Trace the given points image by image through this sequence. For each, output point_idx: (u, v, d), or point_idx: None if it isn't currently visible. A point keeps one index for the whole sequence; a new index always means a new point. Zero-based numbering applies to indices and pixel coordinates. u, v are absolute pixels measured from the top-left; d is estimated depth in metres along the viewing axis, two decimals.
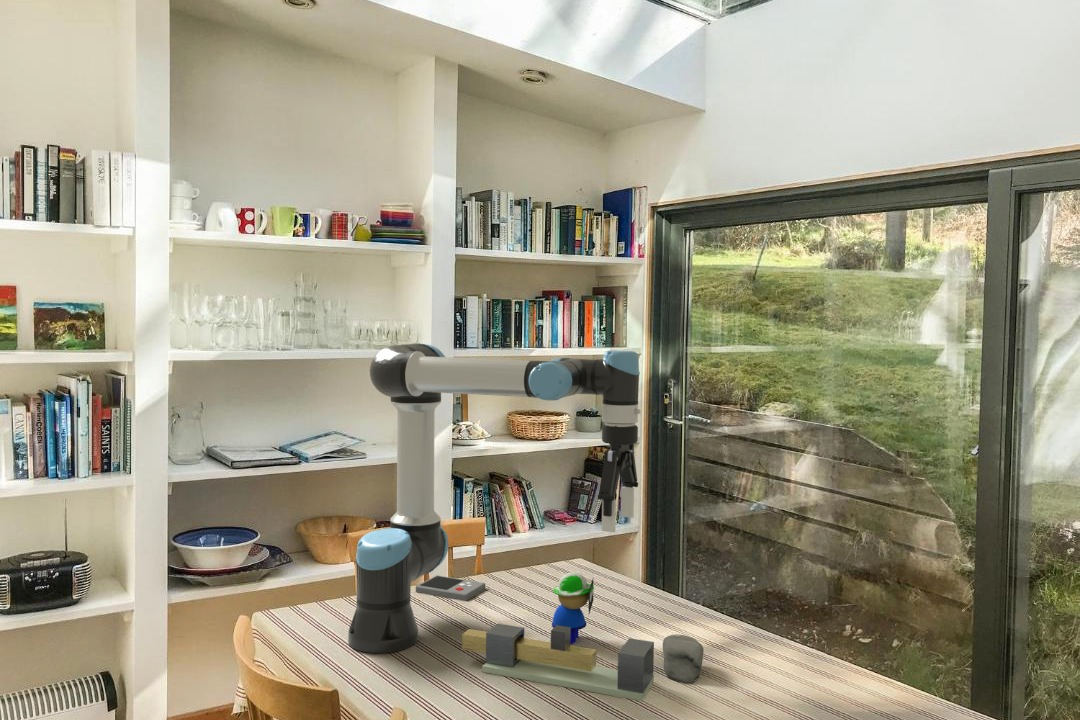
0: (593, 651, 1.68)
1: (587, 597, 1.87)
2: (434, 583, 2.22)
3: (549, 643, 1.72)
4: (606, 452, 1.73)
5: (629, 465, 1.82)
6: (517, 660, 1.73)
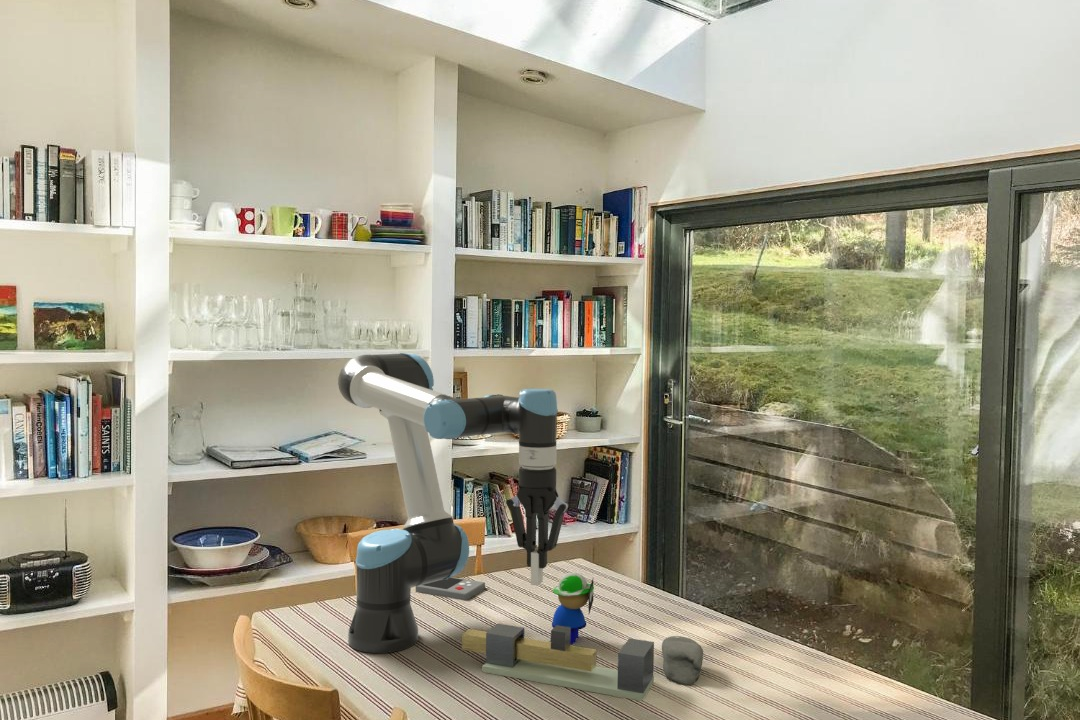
0: (593, 651, 1.68)
1: (587, 597, 1.87)
2: (434, 582, 2.23)
3: (549, 643, 1.72)
4: None
5: None
6: (517, 660, 1.73)
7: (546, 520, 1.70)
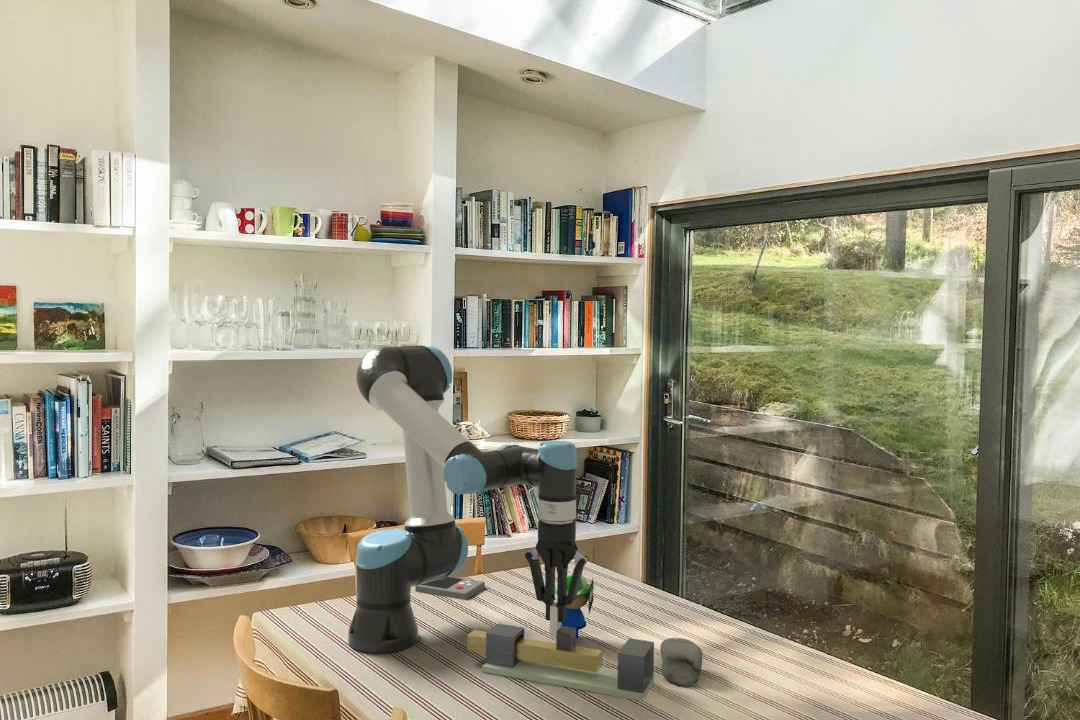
0: (599, 652, 1.68)
1: (587, 597, 1.87)
2: (433, 581, 2.23)
3: (554, 644, 1.71)
4: None
5: None
6: (517, 660, 1.73)
7: (565, 574, 1.69)
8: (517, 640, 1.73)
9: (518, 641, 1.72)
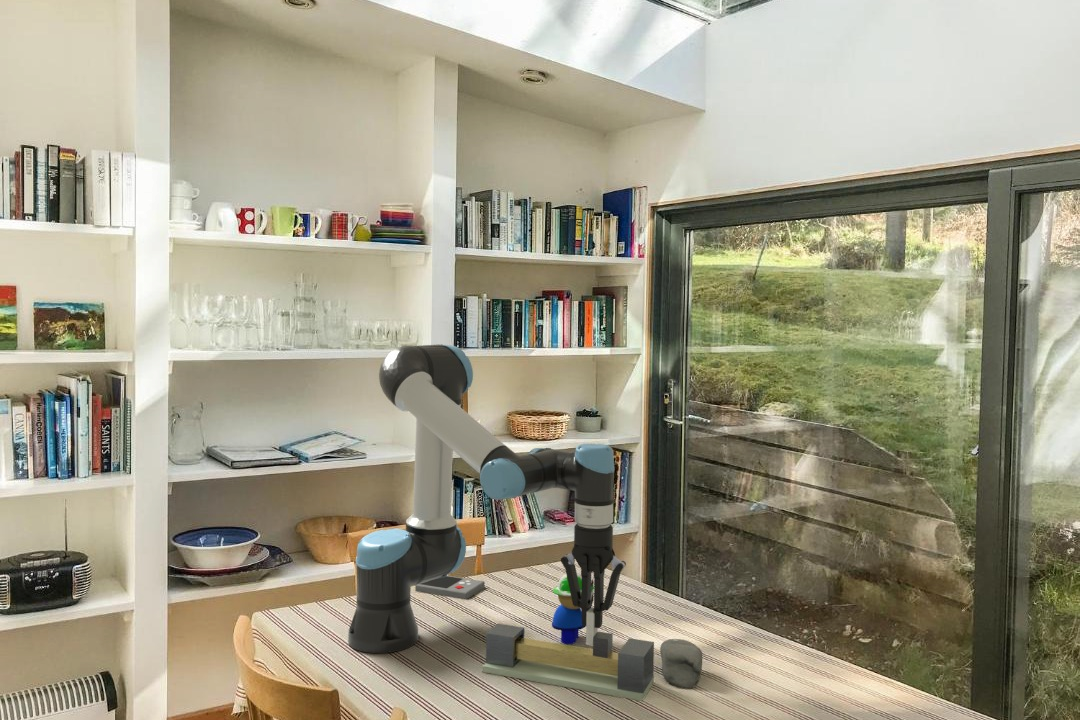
0: None
1: None
2: (433, 581, 2.23)
3: (590, 650, 1.68)
4: None
5: None
6: (517, 660, 1.73)
7: (602, 579, 1.66)
8: (551, 646, 1.70)
9: (553, 647, 1.70)
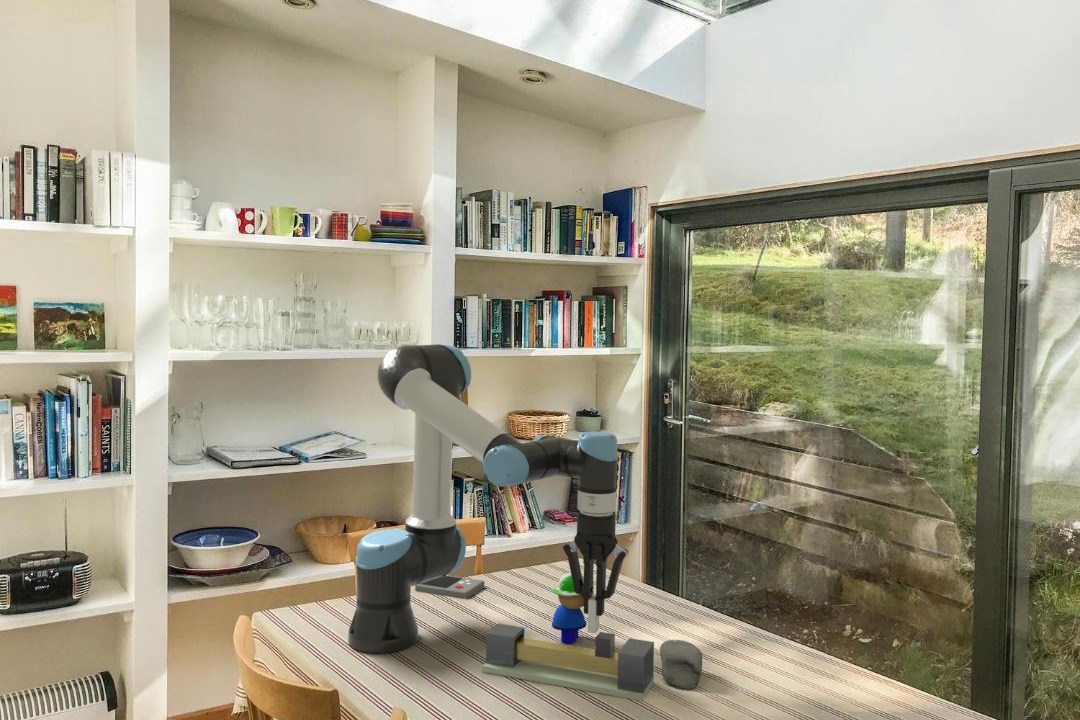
0: None
1: None
2: (433, 581, 2.24)
3: (593, 650, 1.68)
4: None
5: None
6: (517, 660, 1.73)
7: (604, 567, 1.66)
8: (554, 646, 1.70)
9: (555, 647, 1.70)
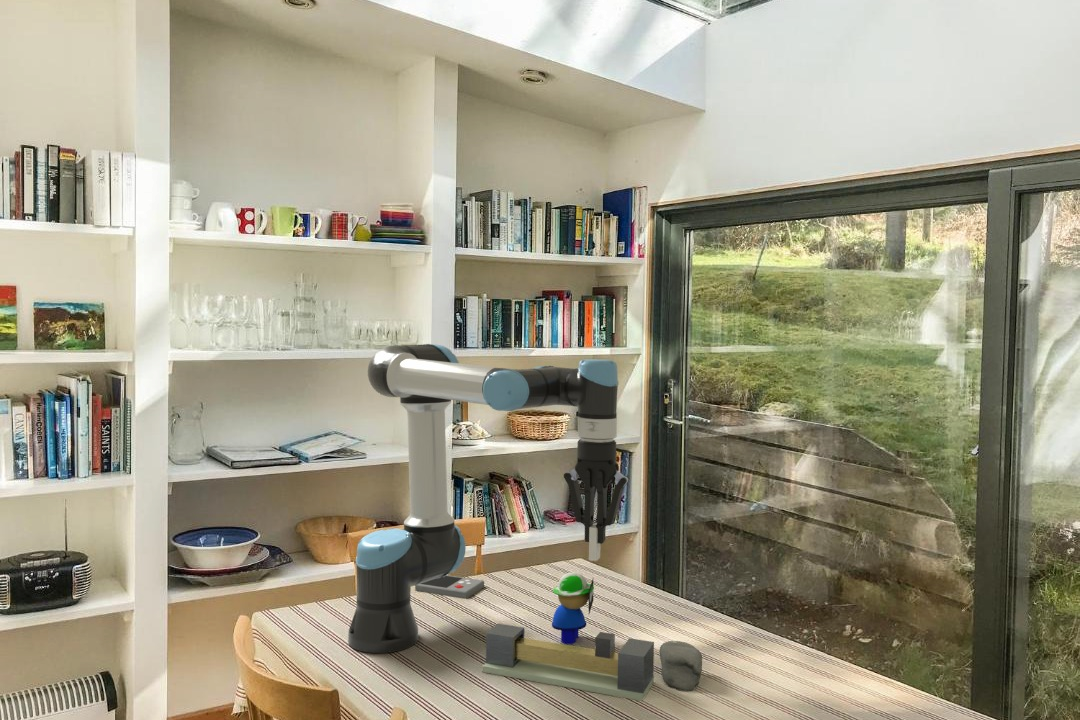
0: None
1: (587, 597, 1.87)
2: (433, 581, 2.24)
3: (593, 650, 1.68)
4: None
5: None
6: (517, 660, 1.73)
7: (605, 494, 1.65)
8: (554, 646, 1.70)
9: (555, 647, 1.70)
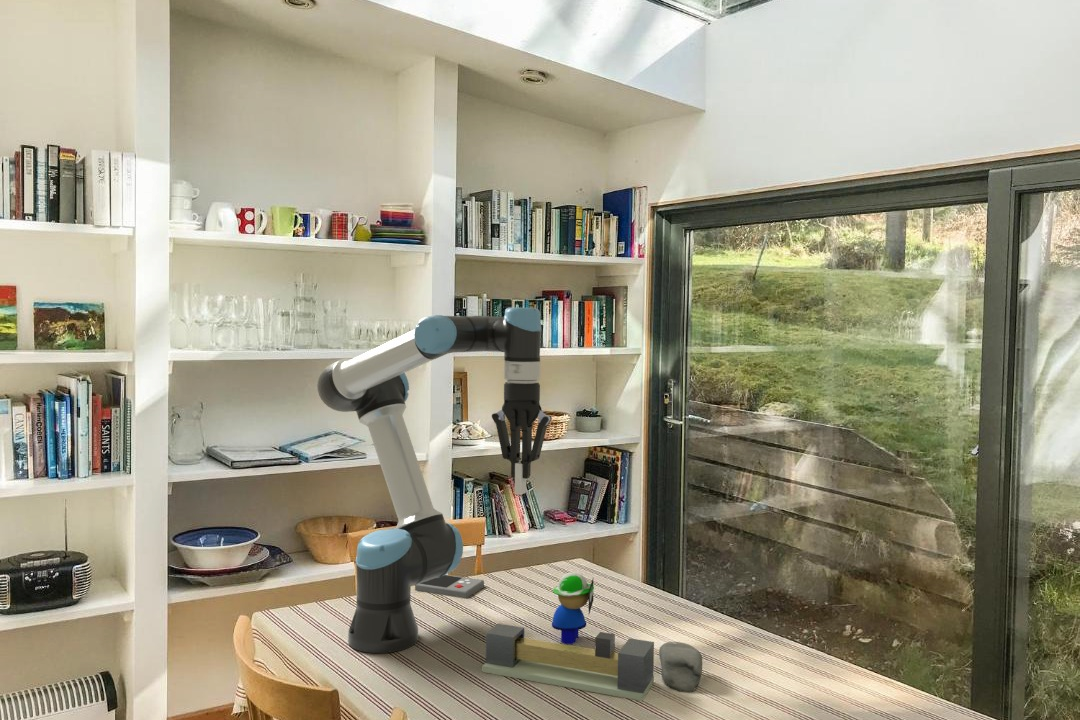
0: None
1: (587, 597, 1.87)
2: (433, 580, 2.24)
3: (593, 650, 1.68)
4: None
5: None
6: (517, 660, 1.73)
7: (530, 433, 1.78)
8: (554, 646, 1.70)
9: (555, 647, 1.70)
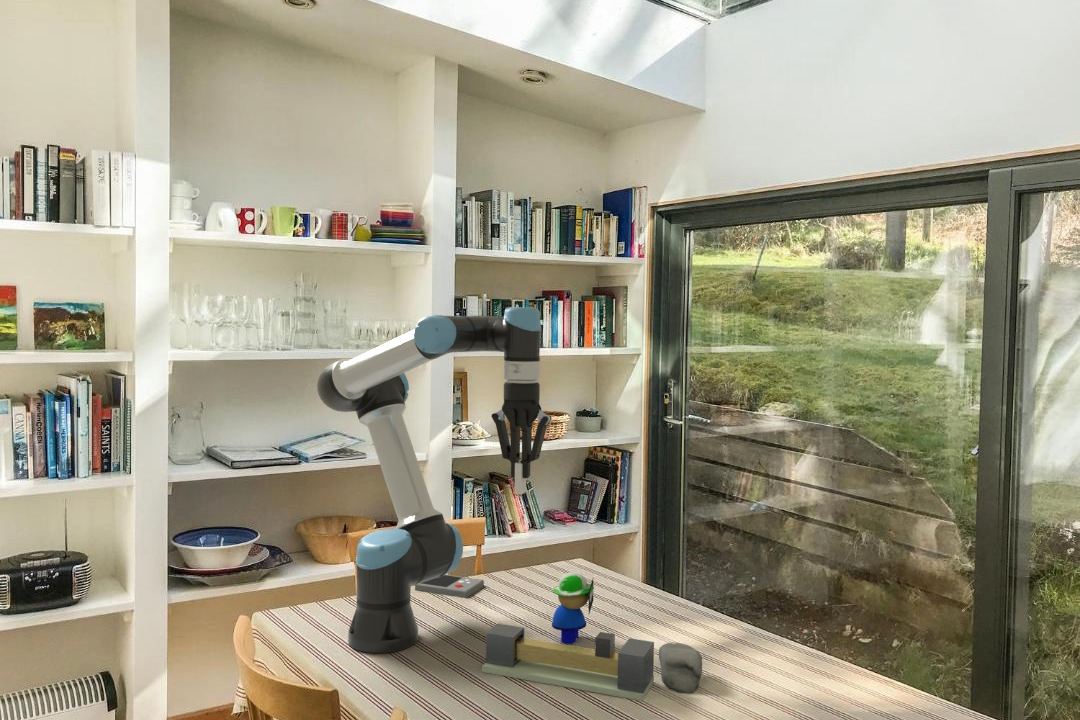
0: None
1: (587, 597, 1.87)
2: (433, 580, 2.24)
3: (593, 650, 1.68)
4: None
5: None
6: (517, 660, 1.73)
7: (529, 432, 1.78)
8: (554, 646, 1.70)
9: (555, 647, 1.70)
